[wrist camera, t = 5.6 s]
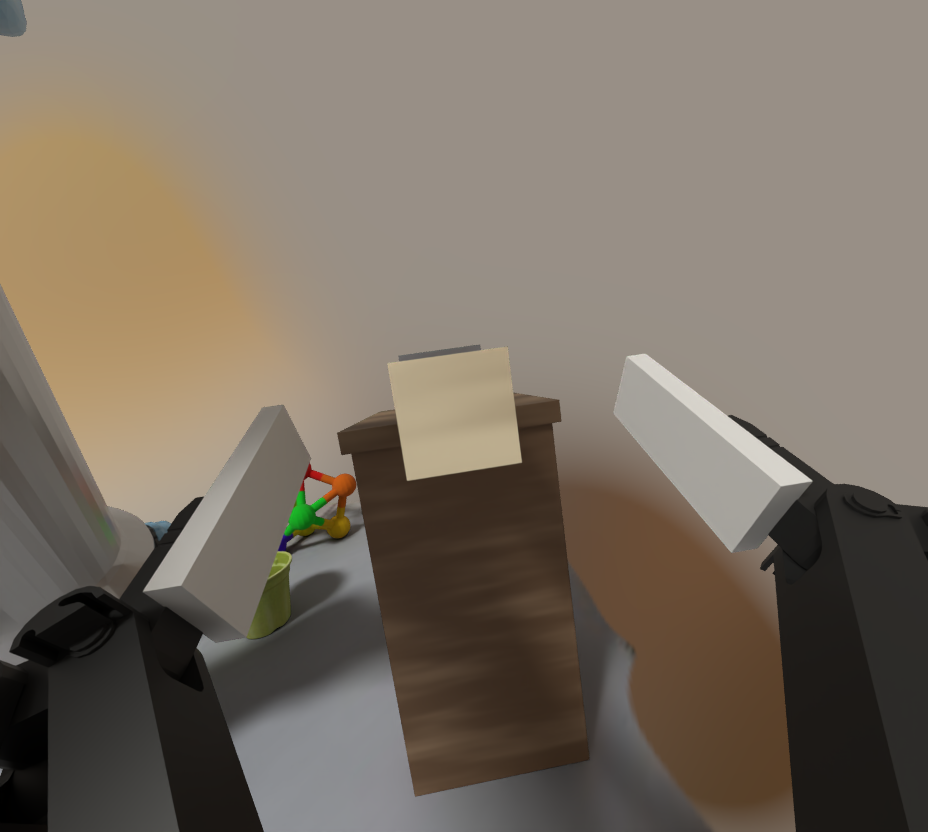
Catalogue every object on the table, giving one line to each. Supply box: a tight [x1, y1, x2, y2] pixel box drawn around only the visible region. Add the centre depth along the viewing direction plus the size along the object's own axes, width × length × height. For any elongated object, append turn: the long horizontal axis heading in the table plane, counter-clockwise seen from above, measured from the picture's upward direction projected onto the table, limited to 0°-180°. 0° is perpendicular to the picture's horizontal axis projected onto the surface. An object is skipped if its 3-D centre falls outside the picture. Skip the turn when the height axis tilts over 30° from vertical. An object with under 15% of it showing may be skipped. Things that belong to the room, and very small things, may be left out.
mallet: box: [388, 345, 522, 481], centre depth 22 cm, size 28×7×5 cm, turn 4°
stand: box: [337, 393, 590, 796], centre depth 31 cm, size 15×15×29 cm
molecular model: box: [278, 463, 356, 552], centre depth 70 cm, size 21×15×20 cm
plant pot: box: [246, 551, 292, 639], centre depth 47 cm, size 9×9×9 cm
